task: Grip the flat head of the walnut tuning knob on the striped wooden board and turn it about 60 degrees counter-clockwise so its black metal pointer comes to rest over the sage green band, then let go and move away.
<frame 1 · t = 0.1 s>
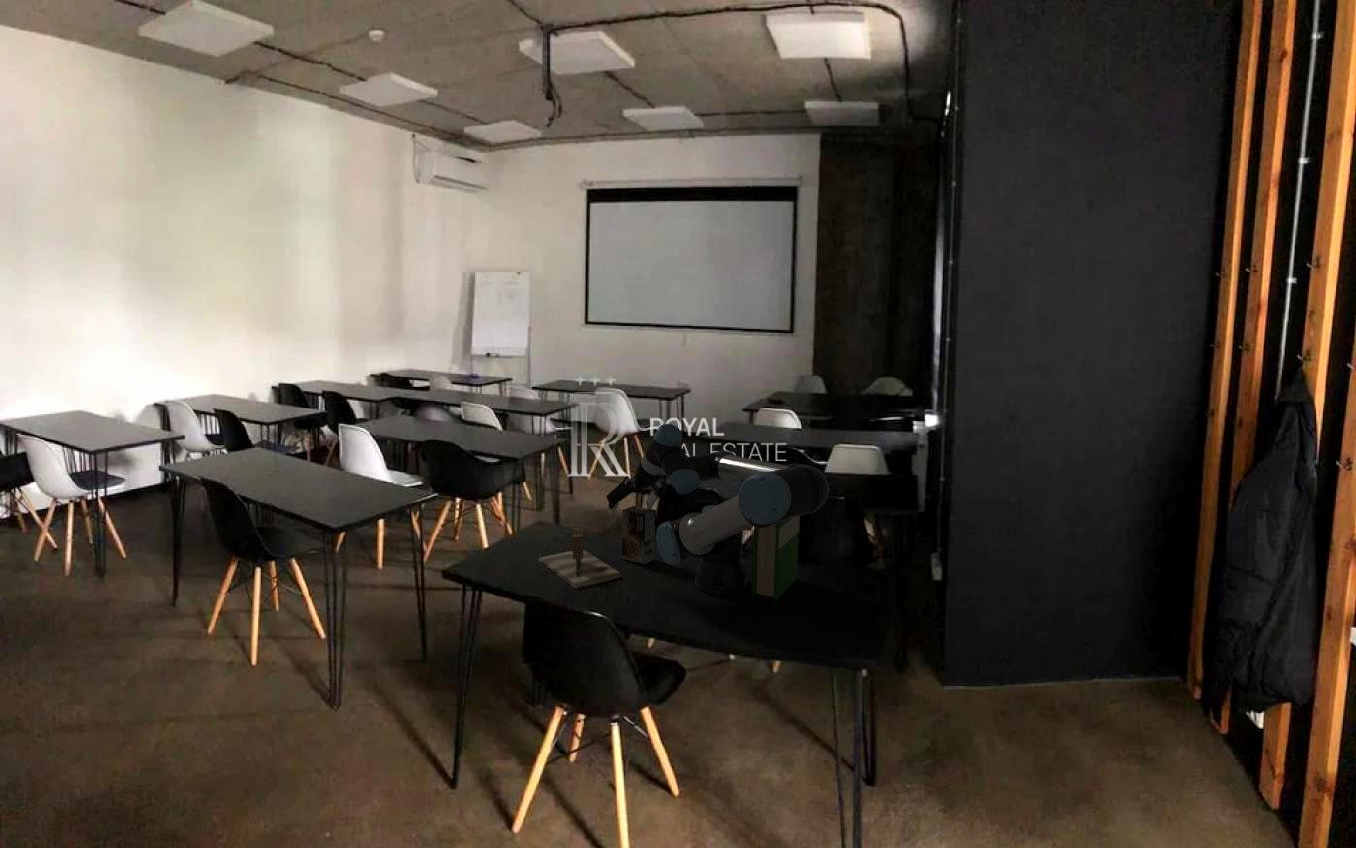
hand: (629, 509, 237), 17 cm above the table, tool tilted 40°, fingers open, 13 cm apart
coffee box: (638, 559, 243), on the table, touching gripper
striped wooden board: (578, 569, 234), on the table
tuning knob: (577, 551, 230), point 7 cm above the table, hinge at 0.0°
hardback book: (774, 588, 223), on the table
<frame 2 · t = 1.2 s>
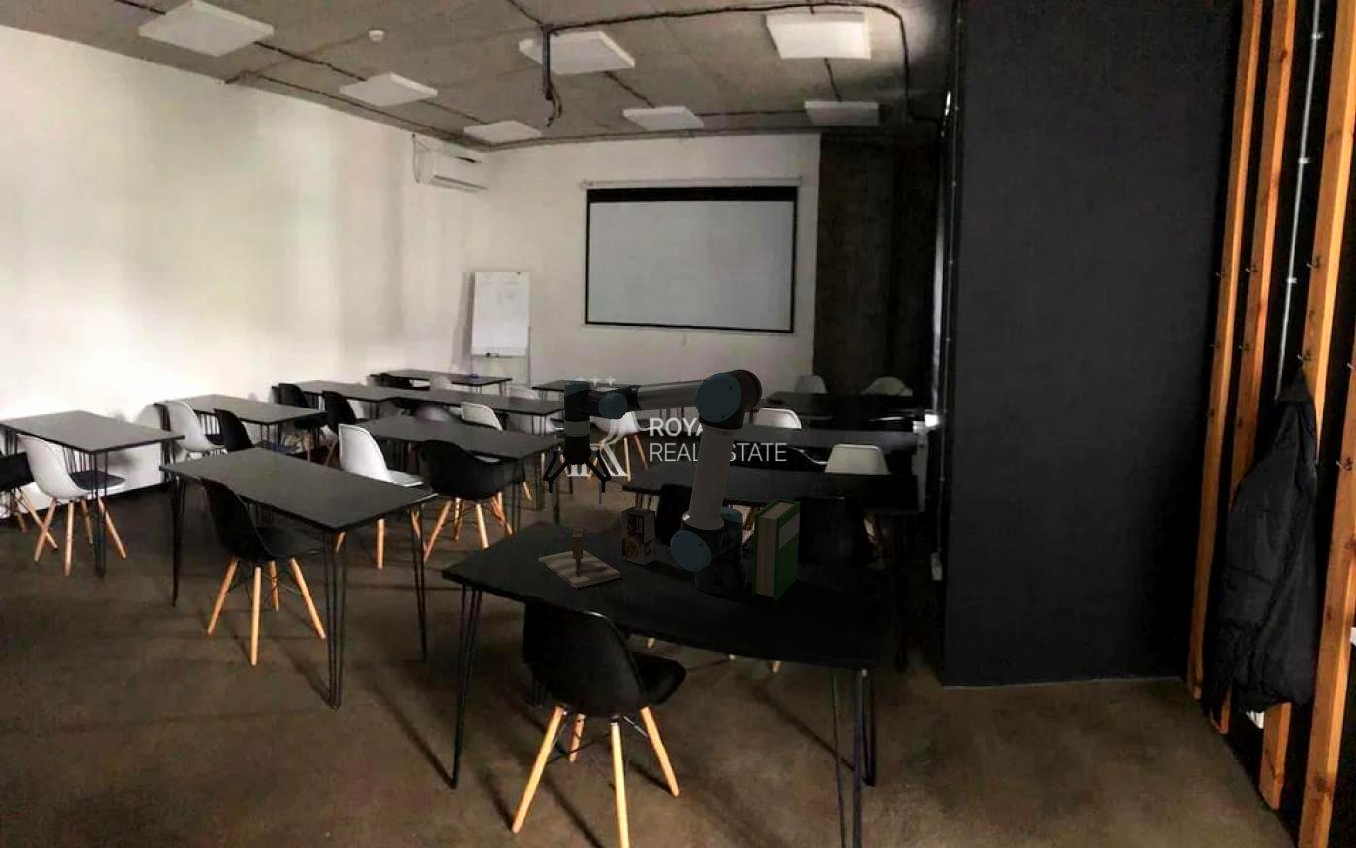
hand: (577, 503, 230), 21 cm above the table, tool pointing down, fingers open, 13 cm apart
coffee box: (638, 560, 243), on the table
everything else where it was.
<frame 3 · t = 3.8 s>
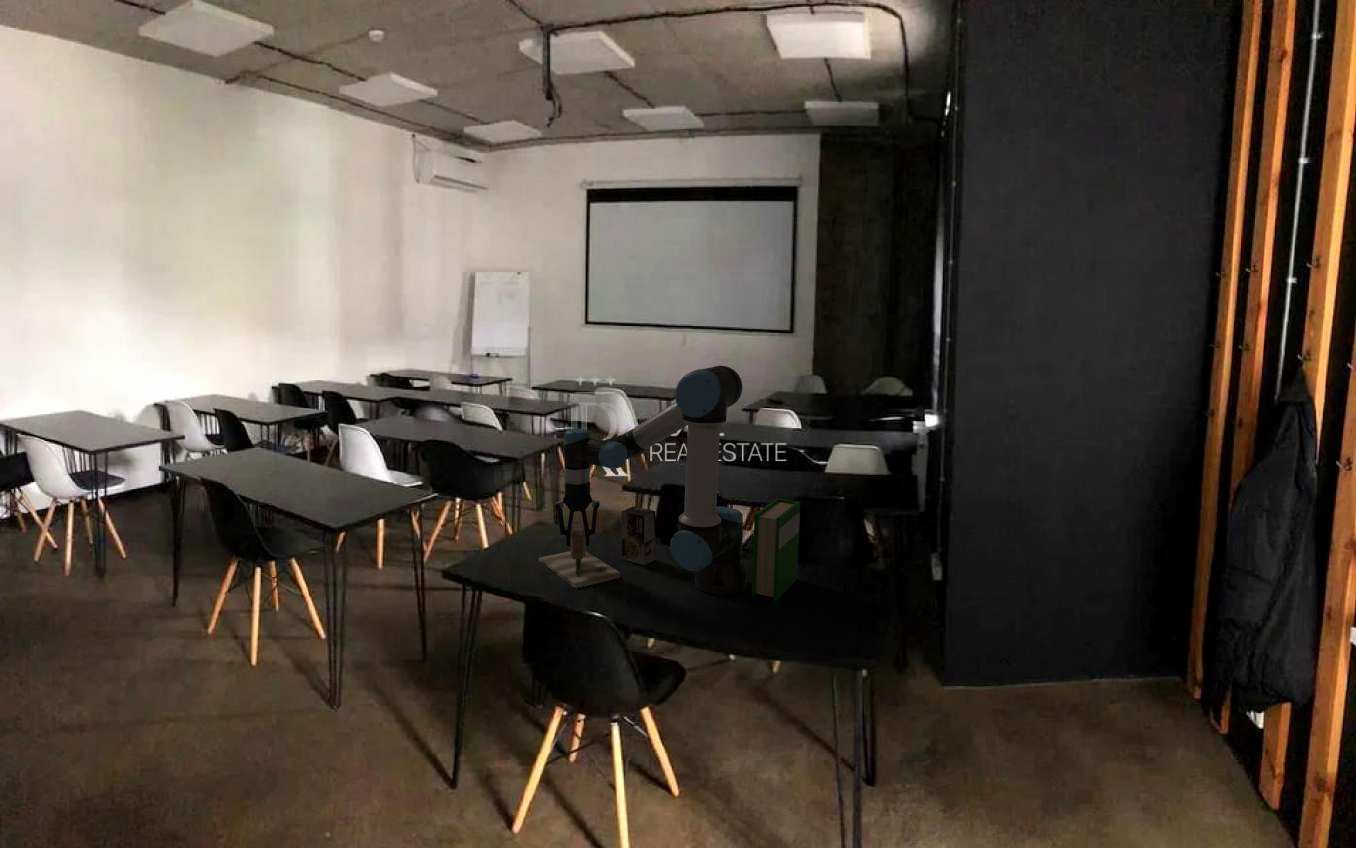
hand: (578, 555, 233), 5 cm above the table, tool pointing down, fingers closed on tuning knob, 3 cm apart
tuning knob: (577, 551, 230), point 7 cm above the table, hinge at 0.0°, touching gripper
everything else where it was.
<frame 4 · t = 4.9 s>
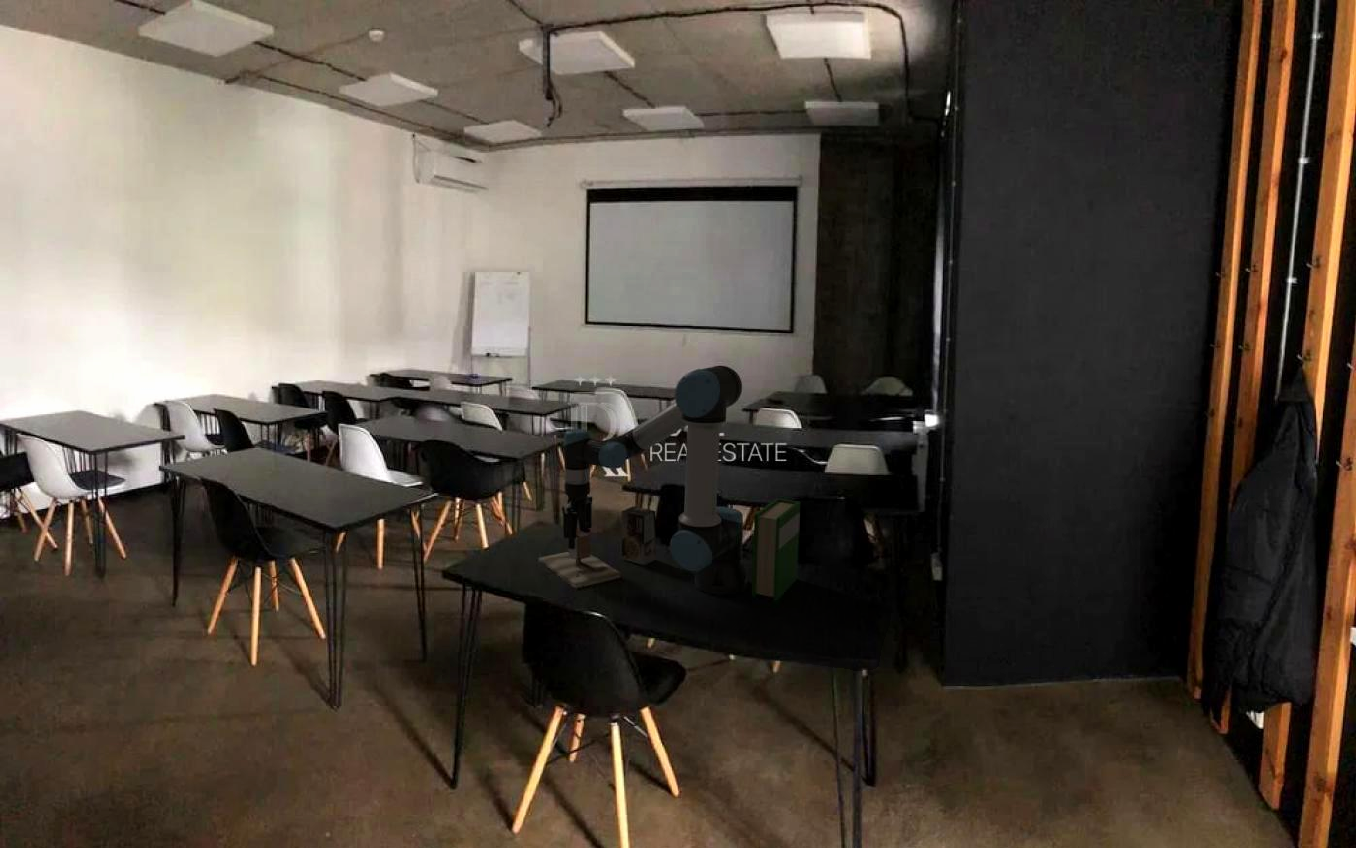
hand: (578, 555, 233), 5 cm above the table, tool pointing down, fingers closed on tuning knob, 4 cm apart
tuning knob: (582, 550, 231), point 7 cm above the table, hinge at 35.9°, touching gripper
everything else where it was.
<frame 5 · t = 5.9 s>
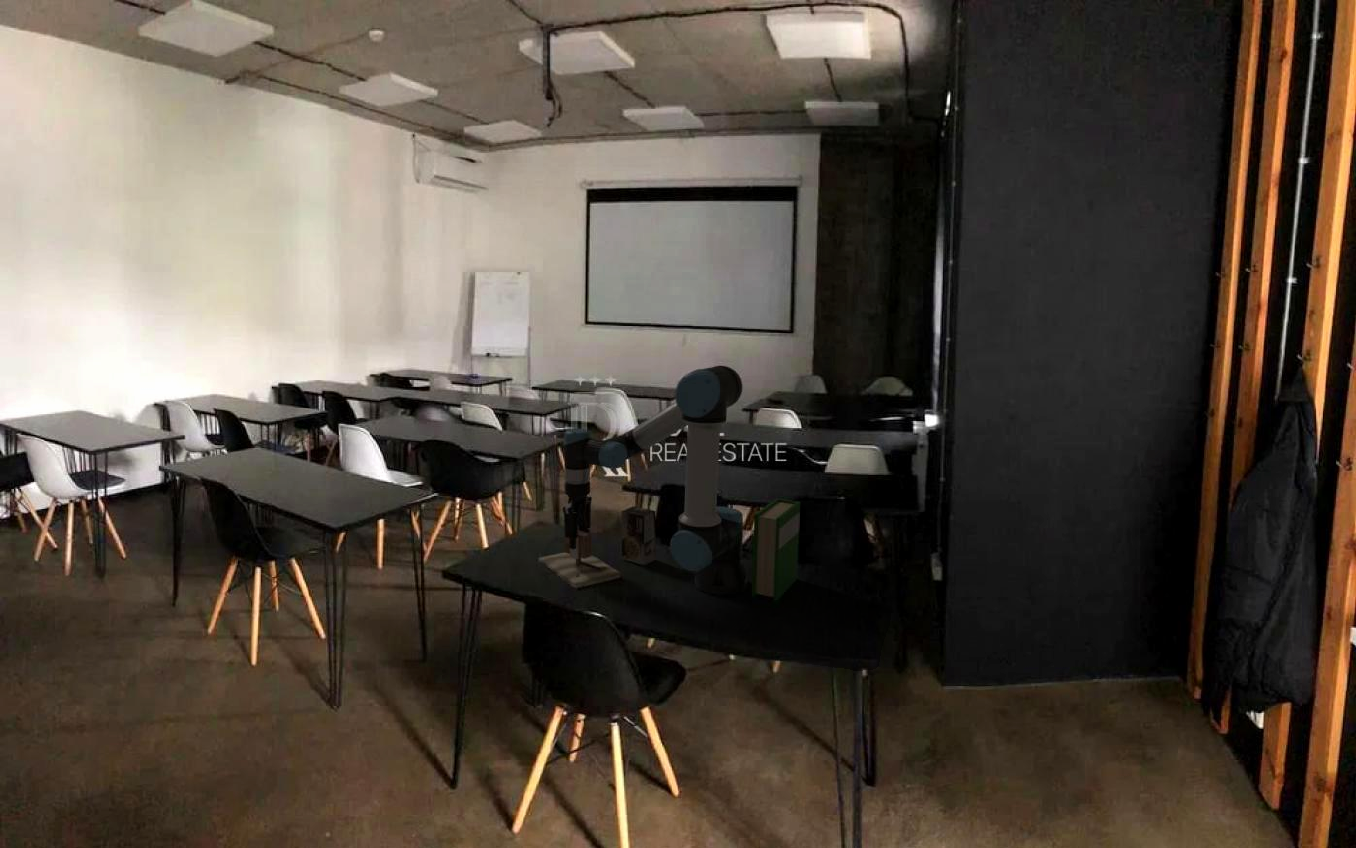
hand: (578, 555, 233), 5 cm above the table, tool pointing down, fingers closed on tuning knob, 4 cm apart
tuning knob: (583, 550, 231), point 7 cm above the table, hinge at 48.3°, touching gripper
everything else where it was.
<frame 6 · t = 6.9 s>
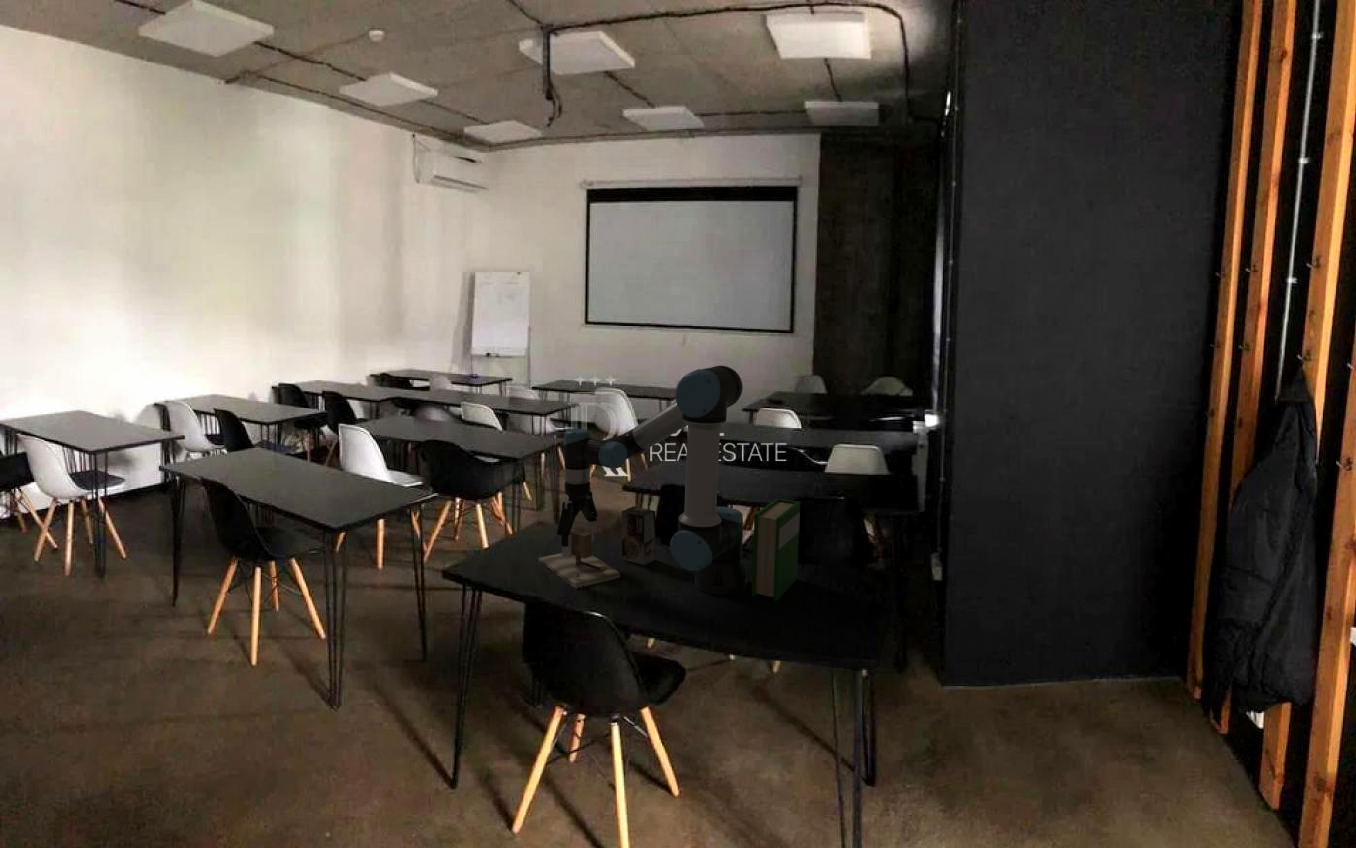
hand: (578, 548, 232), 7 cm above the table, tool pointing down, fingers open, 13 cm apart
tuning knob: (583, 550, 231), point 7 cm above the table, hinge at 48.9°
everything else where it was.
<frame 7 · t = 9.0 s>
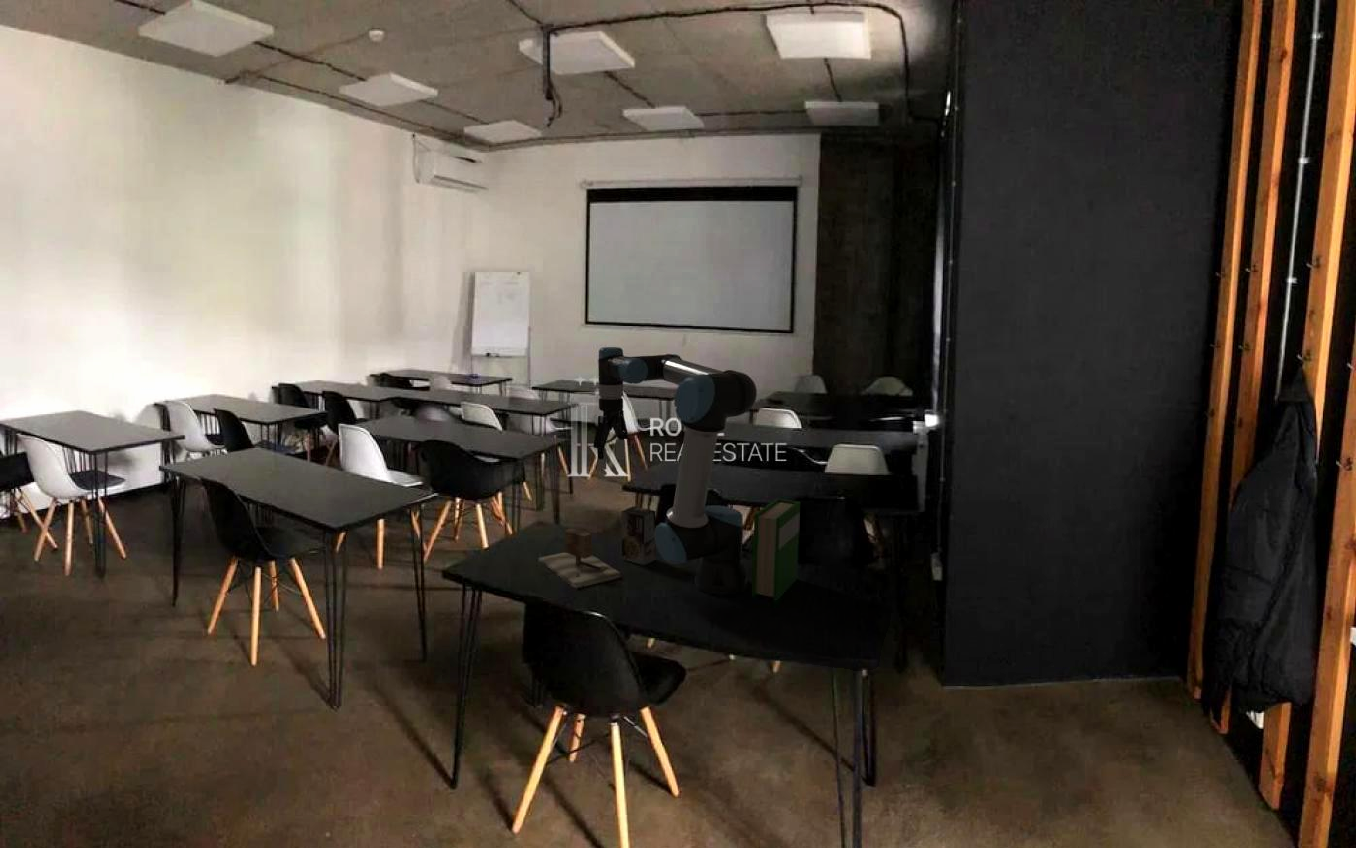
hand: (611, 464, 242), 30 cm above the table, tool pointing down, fingers open, 13 cm apart
nothing on the table moved.
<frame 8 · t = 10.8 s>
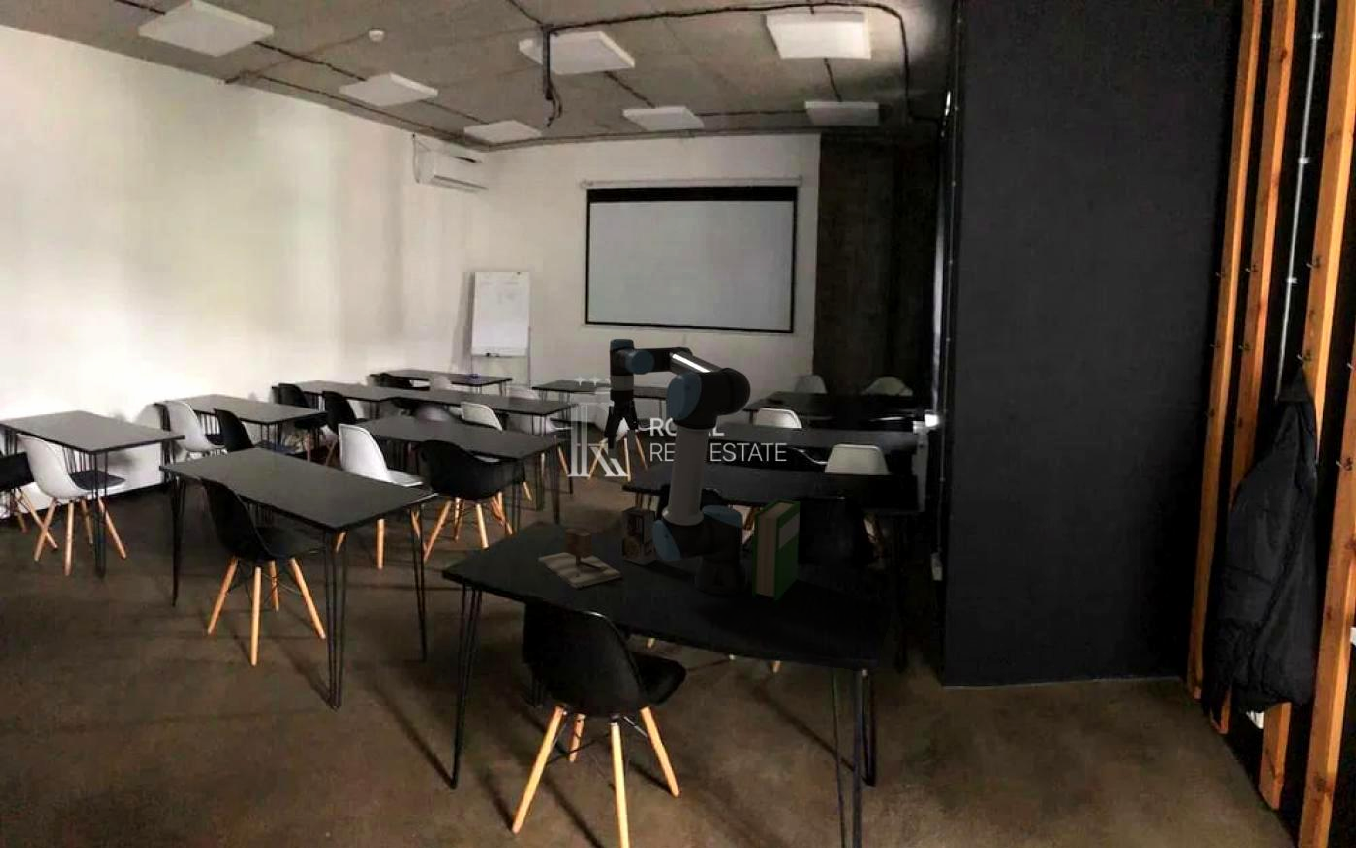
hand: (622, 453, 247), 32 cm above the table, tool pointing down, fingers open, 13 cm apart
nothing on the table moved.
at the end: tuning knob at +49° (first picture: +0°); the gripper is holding nothing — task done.
